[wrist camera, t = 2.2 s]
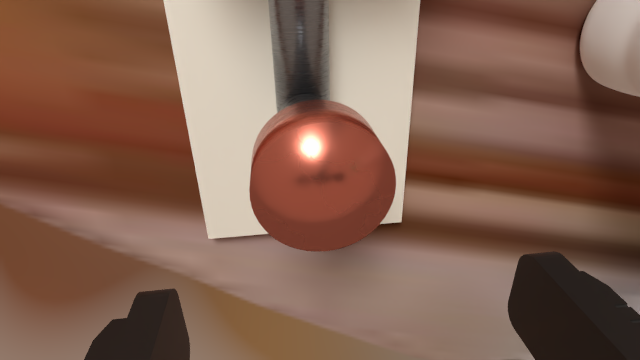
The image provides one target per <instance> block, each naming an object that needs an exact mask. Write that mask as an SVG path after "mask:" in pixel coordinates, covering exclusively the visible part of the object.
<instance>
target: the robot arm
mask: <svg viewBox="0 0 640 360" xmlns="http://www.w3.org/2000/svg"><path fill="white" fill-rule="evenodd" d="M508 313H509V318H510V321H511V323H512V325H513V327H514V329H515V331H516V332H517V334H518V335H519V337H520V338H521V339H522V341H523V342H524V344H525V345H526V347H527V348H528V350H529V351H530V353H531V354H532V355H533V357H534V358H535V360H640V315H639V314H638V313H637V312H636V311H635V310H634V309H633V308H631V307H628V306H627V303H626V302H625V301H624V300H623V299H622V298H621V297H620V296H619V295H618V294H616V293H615V292H614V291H613V290H612V289H611V288H610V287H609V286H608V285H606V284H604V283H603V282H601V281H599V280H597V279H596V278H594V277H592V276H591V275H589V274H587V273H585V272H584V271H579V270H578V269H576V268H575V267H574V266H573V265H572V264H571V263H570V262H569V261H568V260H567V259H566V258H565V257H564V256H563V255H562V254H560V253H558V252H545V253H535V254H526V255H523V256H521V257H520V259H519V261H518V265H517V269H516V273H515V277H514V281H513V285H512V289H511V293H510V297H509V301H508ZM84 360H190V343H189V336H188V332H187V328H186V325H185V320H184V317H183V312H182V308H181V304H180V300H179V296H178V293H177V291H176V290H175V289H165V290H155V291H145V292H139V293H138V294H137V295H136V297H135V299H134V302H133V304H132V307H131V309H130V312H129V314H128V317H127V318H123V319H115V320H112V321H111V322H110V323H109V324H108V325H107V326H106V327H105V328H104V329H103V330H102V331H101V333H100V334H99V335H98V336H97V337H96V338H95V339H94V340H93V342H92V344H91V346H90V348H89V351H88V353H87V355H86V357H85V359H84Z"/></svg>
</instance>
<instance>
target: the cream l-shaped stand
mask: <svg viewBox="0 0 640 360" xmlns="http://www.w3.org/2000/svg"><path fill="white" fill-rule="evenodd" d="M164 5H165V11H166V16H167V21H168V27H169V32H170V37H171V42H172V48H173V53H174V58H175V64H176V69H177V74H178V79H179V85H180V90H181V95H182V101H183V106H184V111H185V116H186V122H187V127H188V132H189V138H190V143H191V148H192V154H193V159H194V164H195V169H196V175H197V180H198V185H199V191H200V196H201V201H202V206H203V212H204V217H205V222H206V228H207V233H208V238H209V239H214V238H225V237H237V236H248V235H260V234H268V233H267V232H266V231H265V230H264V229H263V227H262V226H261V225H260V223H259V222H258V220H257V218H256V217H255V215H254V212H253V209H252V207H251V202H250V193H249V188H250V175H251V161H252V151H253V147H254V143H255V141H256V139H257V136H258V134H259V133H260V131H261V129H262V128H263V127H264V125H265V124H266V123H267V122H268V121H269V120H270V119H271V118H272V117H273V116H274V115H275V114H277V107H276V94H275V81H274V68H273V55H272V42H271V29H270V17H269V4H268V0H164ZM419 9H420V0H329V59H330V101H334V102H338V103H341V104H344V105H346V106H348V107H350V108H352V109H353V110H355V111H356V112H358V113H359V114H360V115H361V116H362V117H363V118H364V119H365V120H366V121H367V122H368V123H369V125H370V126H371V128H372V129H373V131H374V132H375V134H376V135H377V137H378V139H379V140H380V142H381V143H382V145H383V146H384V148H385V150H386V151H387V153H388V154H389V156H390V158H391V160H392V163H393V166H394V169H395V175H396V190H395V196H394V199H393V203H392V205H391V207H390V209H389V211H388V213H387V215H386V216H385V218H384V219H383V220H382V222H381V223H380V224H386V223H397V222H401V221H402V209H403V197H404V186H405V174H406V162H407V150H408V138H409V127H410V115H411V103H412V91H413V79H414V68H415V56H416V44H417V32H418V20H419Z"/></svg>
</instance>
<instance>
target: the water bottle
mask: <svg viewBox="0 0 640 360" xmlns="http://www.w3.org/2000/svg"><path fill="white" fill-rule="evenodd" d="M580 56H581V61H582V64H583V66H584V68H585V70H586V72H587V73H588V75H589V76H590V77H591V78H592V79H593V80H595V81H596V82H598V83H599V84H601V85H603V86H605V87H608V88H611V89H613V90H616V91H619V92H623V93H626V94H630V95H633V96H638V97H640V0H596V2H595V3H594V5H593V6H592V8H591V10H590V12H589V14H588V16H587V18H586V20H585V23H584V26H583V29H582V33H581V38H580Z"/></svg>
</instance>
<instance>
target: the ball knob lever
mask: <svg viewBox="0 0 640 360" xmlns="http://www.w3.org/2000/svg"><path fill="white" fill-rule="evenodd" d="M268 4H269V17H270V29H271V42H272V55H273V68H274V81H275V94H276V107H277V114H275V115H274V116H273V117H272V118H271V119H270V120H269V121H268V122H267V123H266V124H265V125H264V127H263V128H262V129H261V131H260V133H259V134H258V136H257V139H256V141H255V143H254V147H253V151H252V161H251V175H250V188H249V193H250V202H251V207H252V209H253V212H254V215H255V217H256V218H257V220H258V222H259V223H260V225H261V226H262V227H263V229H264V230H265V231H266V232H267V233H268V234H270V235H271V236H272V237H273V238H275V239H276V240H278V241H280V242H281V243H283V244H285V245H288V246H290V247H293V248H296V249H300V250H306V251H330V250H336V249H339V248H343V247H346V246H349V245H351V244H353V243H355V242H357V241H359V240H361V239H363V238H364V237H366V236H367V235H368V234H370V233H371V232H372V231H373V230H374V229H375V228H376V227H377V226H378V225H379V224H380V223H381V222H382V220H383V219H384V218H385V216H386V215H387V213H388V211H389V209H390V207H391V205H392V203H393V199H394V196H395V190H396V175H395V169H394V166H393V163H392V160H391V158H390V156H389V154H388V153H387V151H386V150H385V148H384V146H383V145H382V143H381V142H380V140H379V139H378V137H377V135H376V134H375V132H374V131H373V129H372V128H371V126H370V125H369V123H368V122H367V121H366V120H365V119H364V118H363V117H362V116H361V115H360V114H359V113H358V112H356V111H355V110H353V109H352V108H350V107H348V106H346V105H344V104H341V103H338V102H334V101H330V59H329V0H268Z"/></svg>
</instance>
